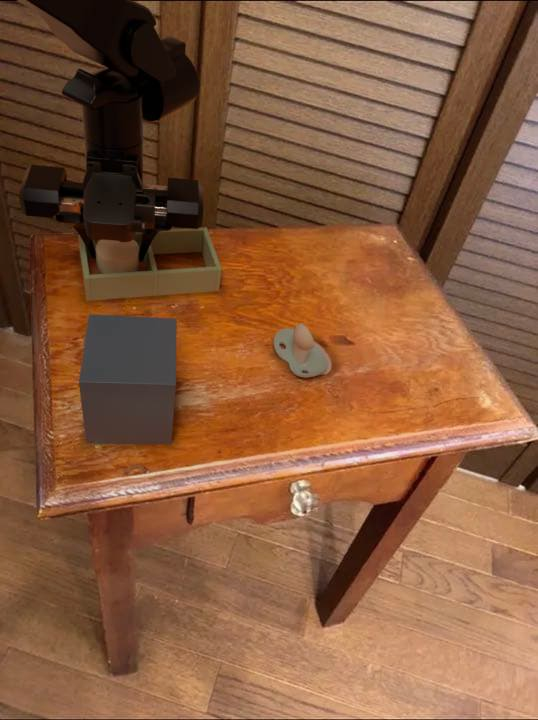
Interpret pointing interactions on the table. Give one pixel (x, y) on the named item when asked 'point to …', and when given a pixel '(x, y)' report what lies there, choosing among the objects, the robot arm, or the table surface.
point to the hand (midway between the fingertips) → (117, 258)
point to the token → (117, 256)
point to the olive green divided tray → (154, 279)
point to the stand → (128, 379)
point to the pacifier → (302, 352)
